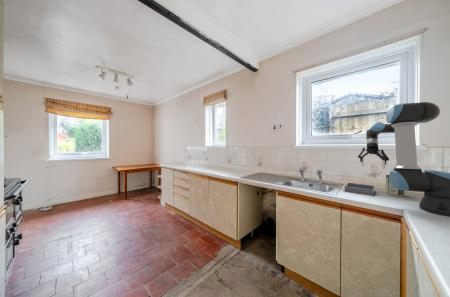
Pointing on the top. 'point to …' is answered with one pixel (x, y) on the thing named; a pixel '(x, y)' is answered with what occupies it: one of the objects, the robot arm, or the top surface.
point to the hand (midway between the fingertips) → (373, 166)
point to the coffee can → (392, 188)
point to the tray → (360, 188)
